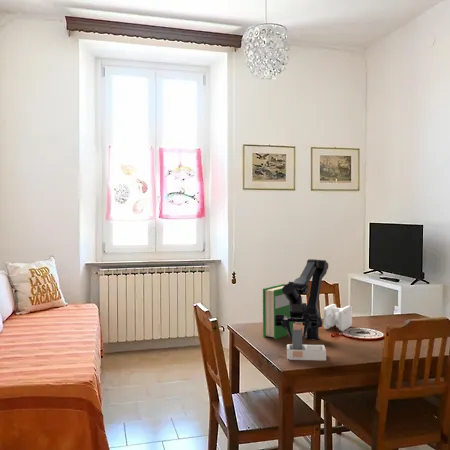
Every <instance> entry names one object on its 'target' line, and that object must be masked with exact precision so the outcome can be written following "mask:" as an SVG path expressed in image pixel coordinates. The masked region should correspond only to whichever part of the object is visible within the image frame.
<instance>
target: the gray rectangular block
mask: <svg viewBox="0 0 450 450" xmlns="http://www.w3.org/2000/svg"><path fill="white" fill-rule="evenodd" d="M291 340H292V341H291V342H292V343H291V344H292V350H302V345H303V328H302V323H301V322H295V323H293V328H292V333H291Z"/></svg>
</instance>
